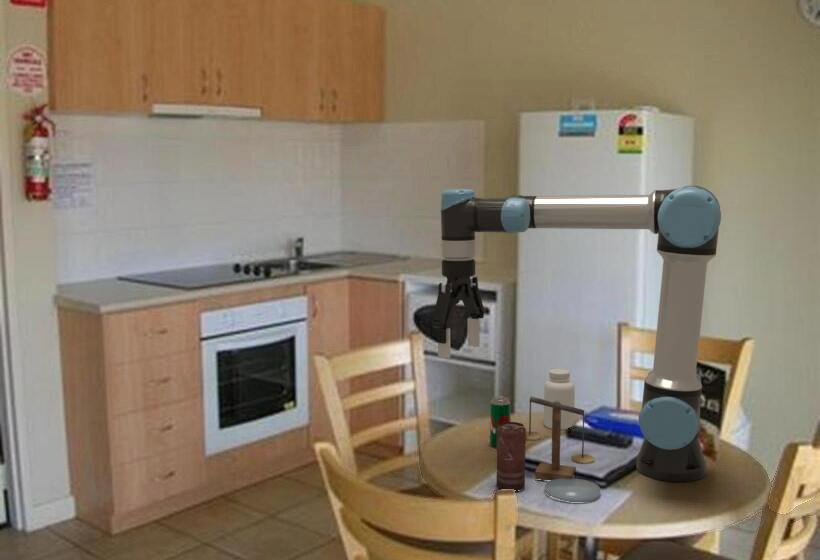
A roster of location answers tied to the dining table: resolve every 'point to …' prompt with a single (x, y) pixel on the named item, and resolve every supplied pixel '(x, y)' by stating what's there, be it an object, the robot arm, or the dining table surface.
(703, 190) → the robot arm
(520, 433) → the can
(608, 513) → the dining table surface
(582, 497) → the dish
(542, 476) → the balance
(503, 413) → the soda can
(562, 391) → the pill bottle
